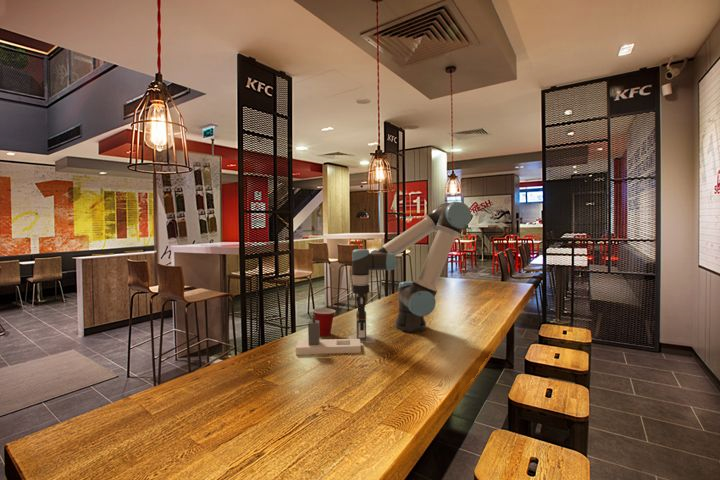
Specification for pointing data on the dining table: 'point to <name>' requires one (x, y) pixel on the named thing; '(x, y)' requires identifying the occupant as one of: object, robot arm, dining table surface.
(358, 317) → the plug
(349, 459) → the dining table surface
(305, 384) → the dining table surface
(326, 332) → the plastic cup
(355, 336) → the white flat slab
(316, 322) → the socket stand
